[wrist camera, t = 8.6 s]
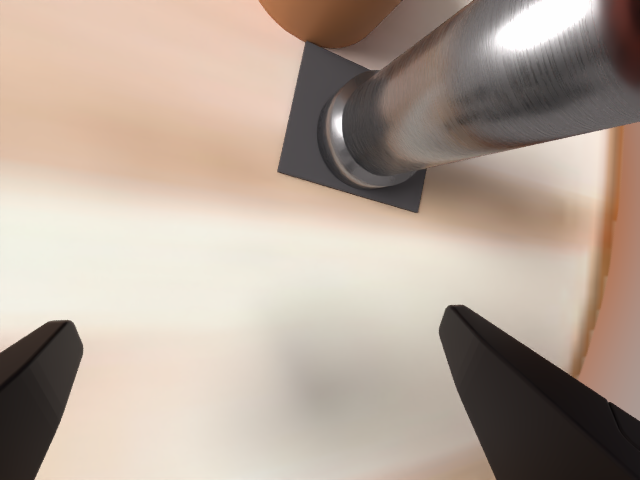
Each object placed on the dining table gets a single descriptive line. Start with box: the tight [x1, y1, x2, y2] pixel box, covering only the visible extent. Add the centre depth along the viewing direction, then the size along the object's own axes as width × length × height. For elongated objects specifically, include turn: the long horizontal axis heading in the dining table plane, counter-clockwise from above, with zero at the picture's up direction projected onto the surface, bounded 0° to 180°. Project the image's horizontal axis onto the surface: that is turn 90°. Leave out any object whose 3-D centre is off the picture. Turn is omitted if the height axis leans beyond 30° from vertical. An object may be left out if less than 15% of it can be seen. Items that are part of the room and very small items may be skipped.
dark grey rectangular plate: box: [277, 41, 427, 213], centre depth 20 cm, size 7×9×1 cm
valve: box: [317, 0, 640, 189], centre depth 13 cm, size 6×6×15 cm
